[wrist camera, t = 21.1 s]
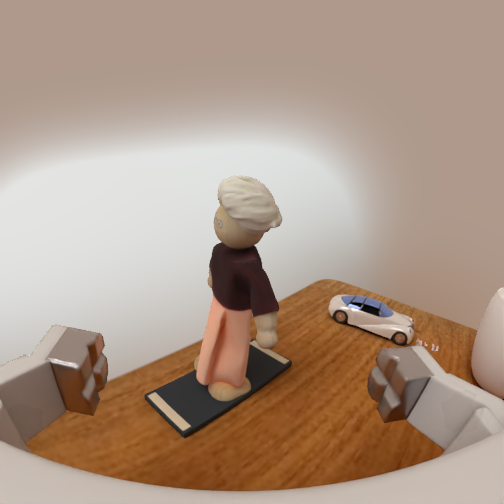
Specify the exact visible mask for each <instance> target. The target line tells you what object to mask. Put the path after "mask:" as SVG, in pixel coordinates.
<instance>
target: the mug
mask: <svg viewBox="0 0 504 504" xmlns="http://www.w3.org/2000/svg"><path fill="white" fill-rule="evenodd" d="M471 367H472V373H473V376H474V378H475V380H476V382H477V383H478V384H479V385H480V386H481V387H482V388H483V389H484V390H485V391H487V392H488V393H491V394H493V395H495V396H497V397H499V398H502V399H504V288H500V289H499V290H498V291H497V292H496V293H495V295H494V296H493V297H492V299H491V301H490V303H489V305H488V307H487V309H486V311H485V313H484V315H483V318H482V320H481V323H480V325H479V328H478V331H477V334H476V337H475V341H474V346H473V351H472V359H471Z"/></svg>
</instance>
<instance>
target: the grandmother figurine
mask: <svg viewBox="0 0 504 504" xmlns="http://www.w3.org/2000/svg"><path fill="white" fill-rule="evenodd" d="M218 200H219V201H220V202H219V203H220V207H219V208H218V210H217V212H216V214H215V218H214V229H215V232H216V235H217V237H218V238H219V239H220V241H221V243H219V244H217V245H216V246H214V248H213V252H212V258H211V260H210V265H209V267H210V270H209V278H208V285H209V286H210V287H211V288H212V290H213V300H212V303H211V307H210V312H209V316H208V321H207V325H206V330H205V334H204V338H203V342H202V347H201V352H200V355H199V356H198V357H197V358H196V359H195V362H194V366H195V369H196V370H197V374H196V377H197V380H198V381H199V382H200V383H201V384H202V385H205V386H206V385H208V384H209V386H208V391H209V392H210V394H211V396H212V397H213V398H215V399H217V400H219V401H231V400H234V399H236V398H238V397H240V396H242V395H244V394H246V393H248V392H249V391H250V389H251V384H250V382H249V380H248V379H247V378H246V377H245V375H246V368H247V362H248V355H249V346H250V319H251V316H252V314H253V316H254V318H255V325H256V328H257V329H258V332H257V336H256V341H257V344H258V346H259V347H261V348H263V349H271V348H273V347H274V346H275V345H276V344H277V342H278V336H277V333H276V326H277V312H278V310H279V305H278V302H277V300H276V298H275V295H274V292H273V290H272V287H271V284H270V281H269V278H268V276H267V274H266V273H265V271H264V270H263V268H262V262H261V258H260V256H259V254H258V251H257V249H256V247H255V246H254V245H255V244H257V243H258V242H259V241H260V239H261V238H262V236H263V234H264V233H265V232H268V231H269V230H270V228H276V227H278V226H280V224H281V222H282V217H281V214H280V211H279V208H278V206H277V205H276V204H275V201H274V199H273V196H272V194H271V193H270V191H269V190H268V189H267V188H266V186H265V185H264V184H263V183H261V182H260V181H258V180H257V179H254V178H252V177H247V176H233V177H229V178H226V179H224V180H223V181H221V183H220V185H219V189H218Z"/></svg>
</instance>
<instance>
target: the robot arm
mask: <svg viewBox="0 0 504 504" xmlns="http://www.w3.org/2000/svg"><path fill="white" fill-rule="evenodd" d="M104 346H105V345H104V340H103V336H102V335H101V334H100V333H96V332H91V331H86V330H81V329H76V328H71V327H70V328H69V327H66V326H61V325H53V326H52V327H51V328H50V329H49V331H48V332H47V333H46V334H45V336H44V337H43V338H42V340H41V341H40V342H39V344H38V345H37V346H36V348H35V349H34V350H33V352H32V353H31V354H30V356H28V355H23V356H21V357H19V358H17V359H14V360H12V361H10V362H7V363H5V364H3V365H1V366H0V504H504V401H503V400H502V399H501V398H499V397H497V396H495V395H493V394H491V393H488V392H486V391H484V390H482V389H480V388H478V387H476V386H474V385H472V384H470V383H468V382H466V381H464V380H462V379H460V378H458V377H456V376H454V375H452V374H450V373H449V374H446V373H445V371H444V370H443V369H442V368H441V367H440V365H439V364H438V363H437V362H436V361H435V360H434V358H433V357H432V356H431V355H430V354H429V353H428V351H427V350H426V349H425V348H424V347H422V346H420V345H419V346H410V347H405V348H391V349H381V351H380V352H379V353H378V355H377V357H376V362H377V366H376V367H374V368H373V369H372V370H371V372H370V374H369V377H368V385H367V387H368V392H369V394H370V396H371V398H372V399H373V400H375V401H376V402H378V405H377V410H378V412H379V414H380V416H381V417H382V419H383V421H384V423H387V422H393V421H399V420H405V419H407V420H406V421H407V422H409V423H410V424H411V425H413V426H414V427H415V428H416V429H418V430H419V431H420V432H422V433H423V434H424V435H425V436H427V437H428V438H429V439H431V440H432V441H433V442H434V443H436V444H437V445H438V446H440V447H441V448H442V449H444V450H445V452H444V453H443V454H442V455H441V456H440V457H438V458H435V459H432V460H430V461H427V462H423V463H420V464H417V465H414V466H411V467H407V468H404V469H400V470H397V471H393V472H389V473H385V474H381V475H377V476H372V477H368V478H363V479H358V480H353V481H348V482H342V483H336V484H330V485H323V486H315V487H307V488H297V489H285V490H269V491H210V490H194V489H182V488H172V487H164V486H157V485H150V484H143V483H137V482H132V481H126V480H121V479H117V478H112V477H107V476H103V475H99V474H95V473H91V472H87V471H84V470H80V469H76V468H73V467H70V466H66V465H63V464H60V463H57V462H54V461H51V460H48V459H45V458H43V457H40V456H37V455H34V454H32V453H31V451H30V450H29V448H28V446H27V445H26V443H27V442H28V441H29V440H31V439H32V438H33V437H34V436H36V435H37V434H38V433H40V432H41V431H42V430H44V429H45V428H46V427H47V426H49V425H50V424H51V423H53V422H54V421H55V420H57V419H58V418H59V417H60V416H62V415H63V414H64V413H66V412H67V411H66V410H68V411H72V412H77V413H81V414H86V415H91V416H94V413H95V411H96V408H97V406H98V403H99V400H100V398H99V394H98V392H99V391H101V390H103V389H104V387H105V385H106V382H107V375H108V363H107V358H106V357H105V356H104V354H103V353H102V350H103V348H104Z"/></svg>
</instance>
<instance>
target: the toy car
mask: <svg viewBox="0 0 504 504" xmlns="http://www.w3.org/2000/svg"><path fill="white" fill-rule="evenodd" d="M329 312H330V314H331V316H333V315H334V319H335V320H336V321H337V322H338V323H345V322H346V321H347V319H348V323H349V324H352V325H356V326H358V327H361V328H363V329H366V330H368V331H371V332H373V333H376V334H378V335H381V336H384V337H387V338H389V339H391V337H392V335H393V341H394V342H395V343H396V344H398V345H402V344H404V343H405V342H406V341H407V337H408V341H407V344H409V343H410V342H411V341H412V339H413V337H414V333H415V329H414V327H415V326H414V321H413V319H411V318H410V317H408V316H406V315H402V314H399V313H397V312H395V311H393V310H391V309H390V308H389V307H388V306H387V305H385V303H382V302H380V301H378V300H375V299H372V298H369V297H365V296H360V295H337V296H334V297H333V298H332V300H331V302H330V304H329ZM411 322H412V324H411ZM411 325H412V326H411ZM410 326H411V327H410ZM418 339H419V338H418ZM418 339H417V340H418ZM416 342H417V341H416ZM419 342H420V340H419ZM421 343H422V341H421ZM419 344H420V343H419ZM419 344H418V345H419ZM425 345H426V342H425ZM433 345H434V344H433ZM434 346H435V345H434ZM437 348H438V347H436V350H437ZM433 349H434V348H433ZM436 350H435V351H436ZM432 351H433V350H432ZM437 351H438V350H437Z"/></svg>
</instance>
